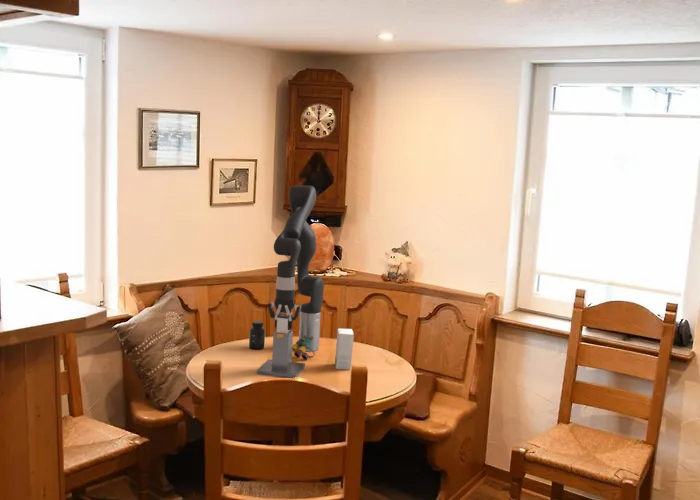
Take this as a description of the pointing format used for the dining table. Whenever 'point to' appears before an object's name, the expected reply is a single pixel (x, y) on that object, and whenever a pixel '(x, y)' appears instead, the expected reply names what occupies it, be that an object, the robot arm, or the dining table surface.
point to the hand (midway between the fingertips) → (283, 328)
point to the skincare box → (344, 349)
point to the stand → (281, 358)
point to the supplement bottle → (257, 336)
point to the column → (282, 324)
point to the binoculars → (302, 347)
